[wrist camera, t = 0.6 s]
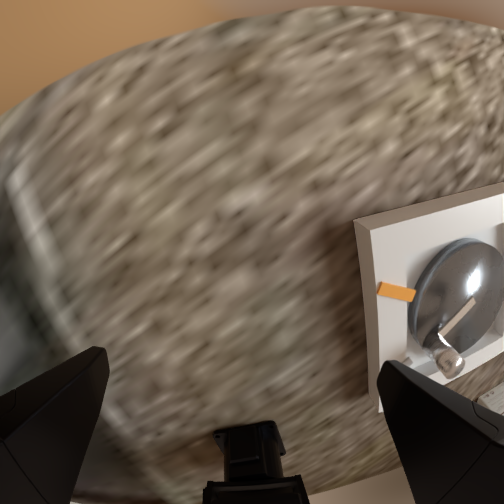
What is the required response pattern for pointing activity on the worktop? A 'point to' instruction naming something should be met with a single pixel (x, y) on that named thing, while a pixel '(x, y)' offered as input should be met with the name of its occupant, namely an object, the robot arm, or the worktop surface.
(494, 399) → the supplement box
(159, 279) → the worktop surface
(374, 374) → the bezel
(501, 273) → the dial
